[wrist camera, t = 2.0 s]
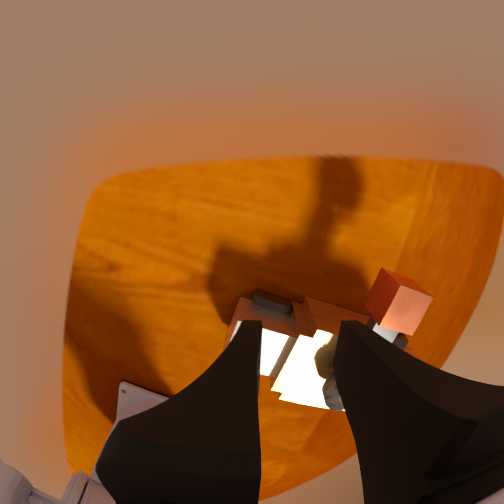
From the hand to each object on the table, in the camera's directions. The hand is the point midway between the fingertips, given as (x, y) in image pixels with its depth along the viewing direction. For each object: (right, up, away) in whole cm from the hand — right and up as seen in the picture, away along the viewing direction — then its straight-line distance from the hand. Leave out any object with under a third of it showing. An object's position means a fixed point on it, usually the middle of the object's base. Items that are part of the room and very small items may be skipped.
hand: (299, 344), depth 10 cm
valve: (+4, -3, +11) cm, 12 cm away
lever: (+5, -2, +5) cm, 7 cm away
